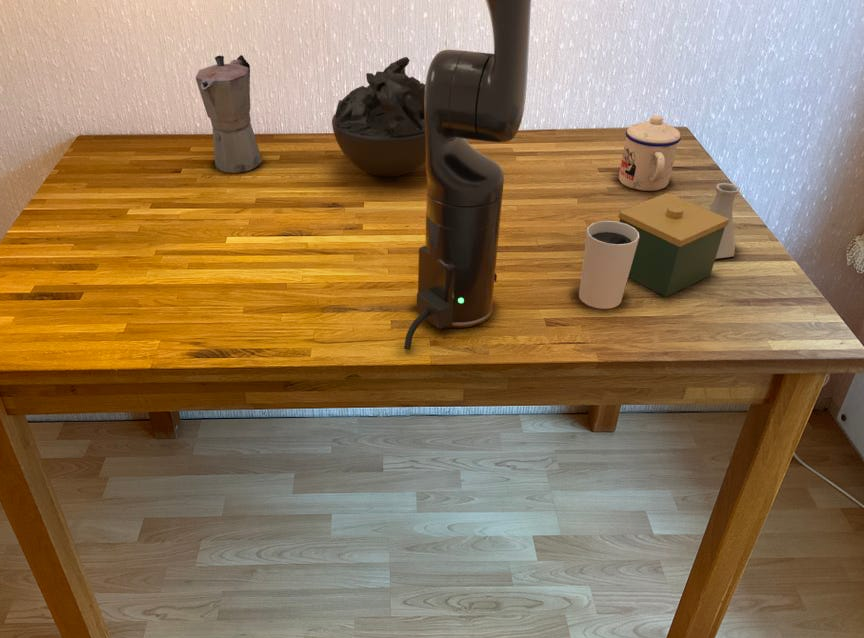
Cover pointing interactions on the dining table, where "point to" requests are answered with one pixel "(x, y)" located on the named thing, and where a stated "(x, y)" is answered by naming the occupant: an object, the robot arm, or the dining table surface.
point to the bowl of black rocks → (383, 123)
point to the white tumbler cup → (607, 263)
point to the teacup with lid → (649, 155)
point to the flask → (724, 208)
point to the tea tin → (673, 242)
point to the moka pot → (230, 114)
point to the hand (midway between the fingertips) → (511, 24)
